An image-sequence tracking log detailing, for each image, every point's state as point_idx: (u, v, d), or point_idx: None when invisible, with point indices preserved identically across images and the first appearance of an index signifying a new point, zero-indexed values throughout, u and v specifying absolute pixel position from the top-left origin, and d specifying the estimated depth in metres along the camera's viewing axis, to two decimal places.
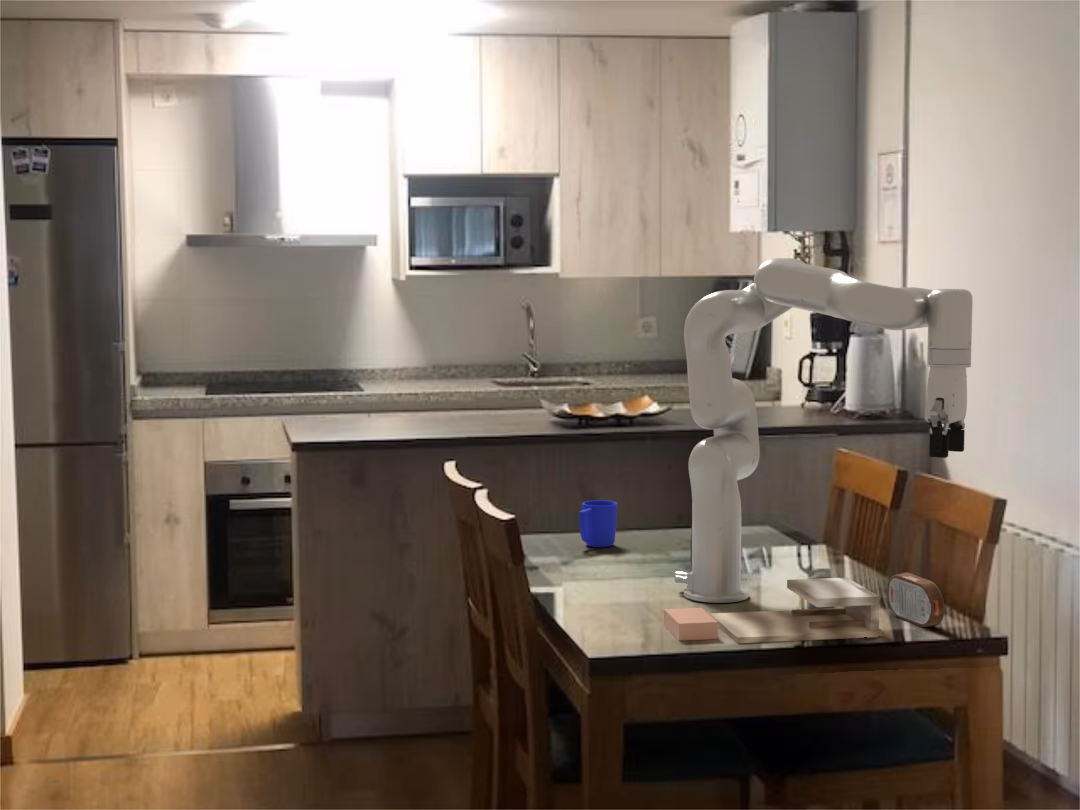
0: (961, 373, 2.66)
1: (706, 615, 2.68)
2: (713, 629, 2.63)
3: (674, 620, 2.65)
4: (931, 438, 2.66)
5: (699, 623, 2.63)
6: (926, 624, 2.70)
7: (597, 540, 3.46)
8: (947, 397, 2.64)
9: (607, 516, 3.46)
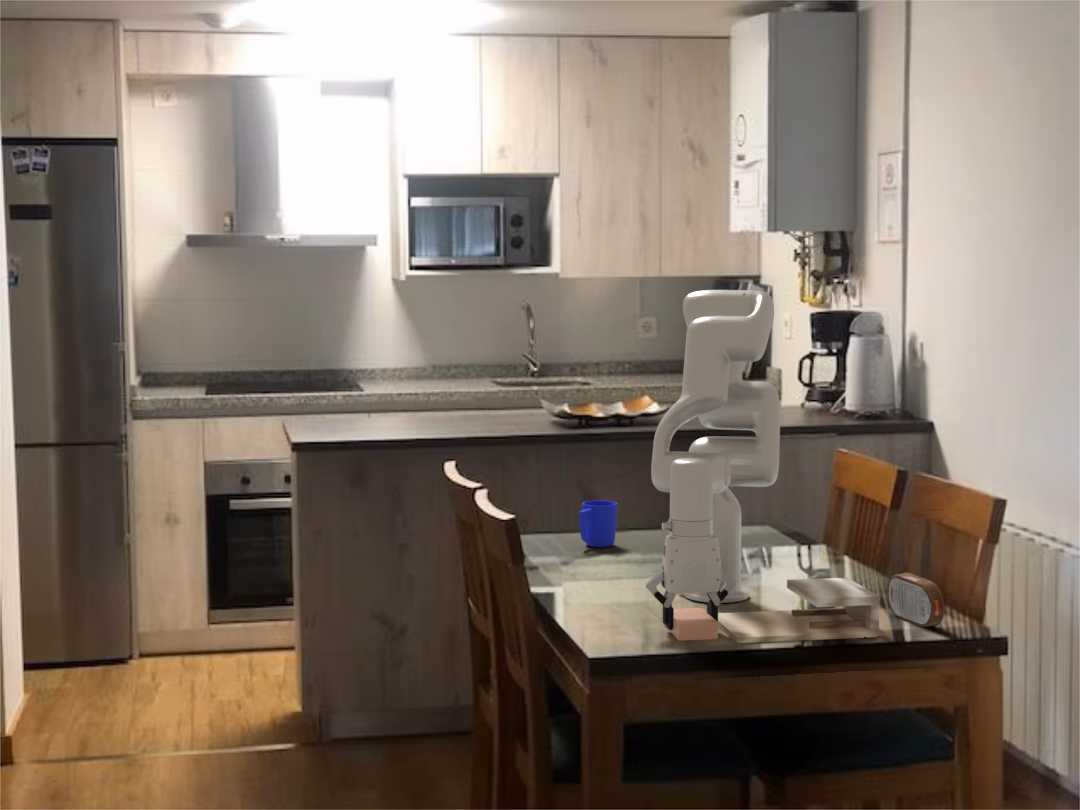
0: None
1: (706, 615, 2.68)
2: (713, 629, 2.63)
3: (674, 620, 2.65)
4: None
5: (699, 623, 2.63)
6: (926, 624, 2.70)
7: (597, 540, 3.46)
8: None
9: (607, 516, 3.46)
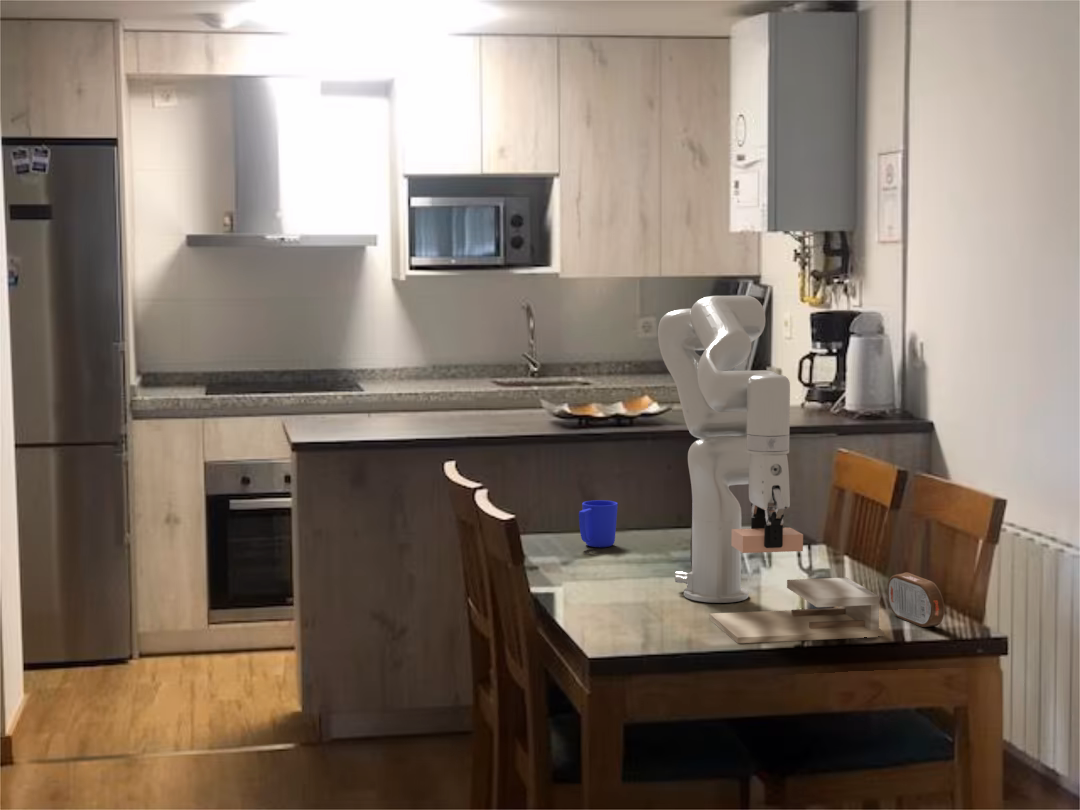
0: (752, 458, 2.68)
1: None
2: None
3: (785, 536, 2.66)
4: None
5: (795, 531, 2.70)
6: (926, 624, 2.70)
7: (597, 540, 3.46)
8: None
9: (607, 516, 3.46)
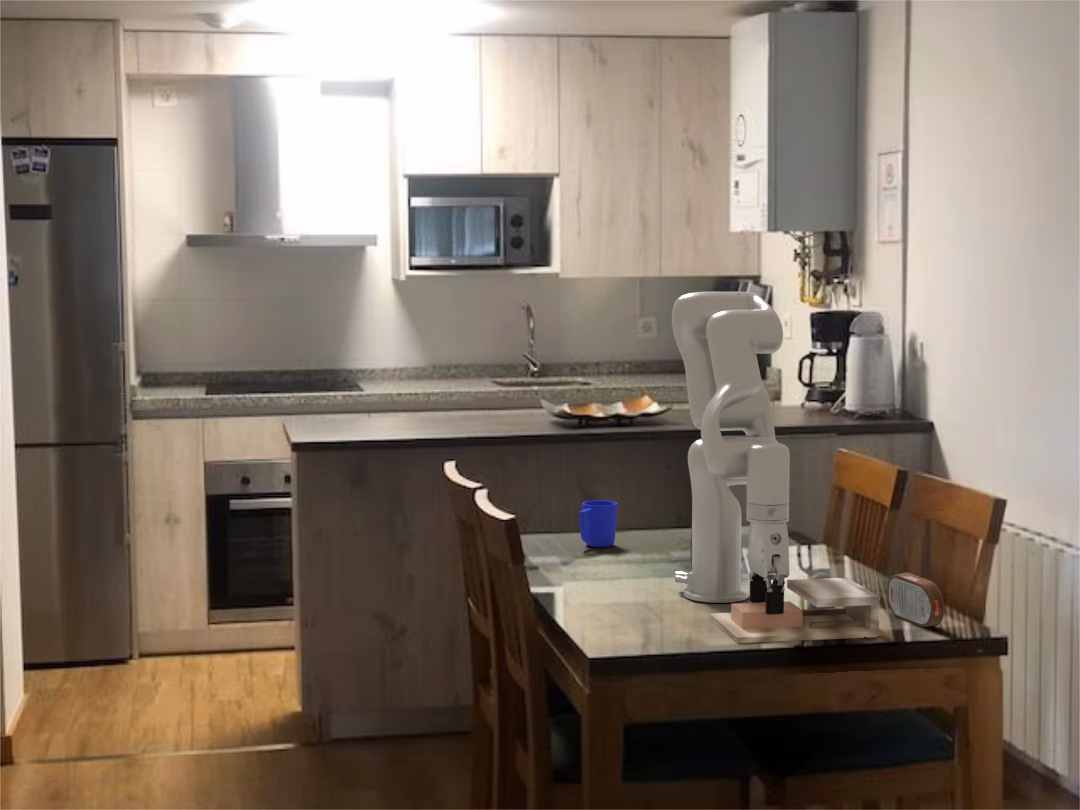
0: (752, 526, 2.69)
1: (764, 603, 2.73)
2: None
3: (784, 611, 2.67)
4: None
5: None
6: (926, 624, 2.70)
7: (597, 540, 3.46)
8: None
9: (607, 516, 3.46)
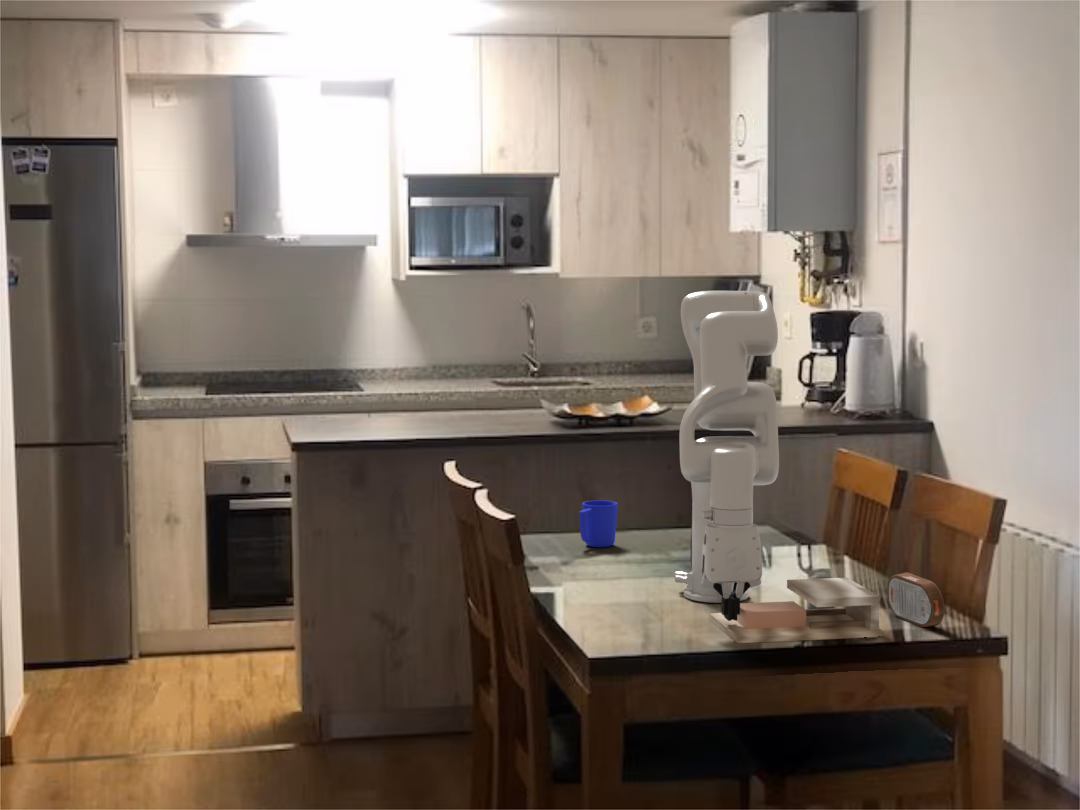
0: None
1: (768, 603, 2.73)
2: None
3: (788, 611, 2.67)
4: None
5: None
6: (926, 624, 2.70)
7: (597, 540, 3.46)
8: None
9: (607, 516, 3.46)
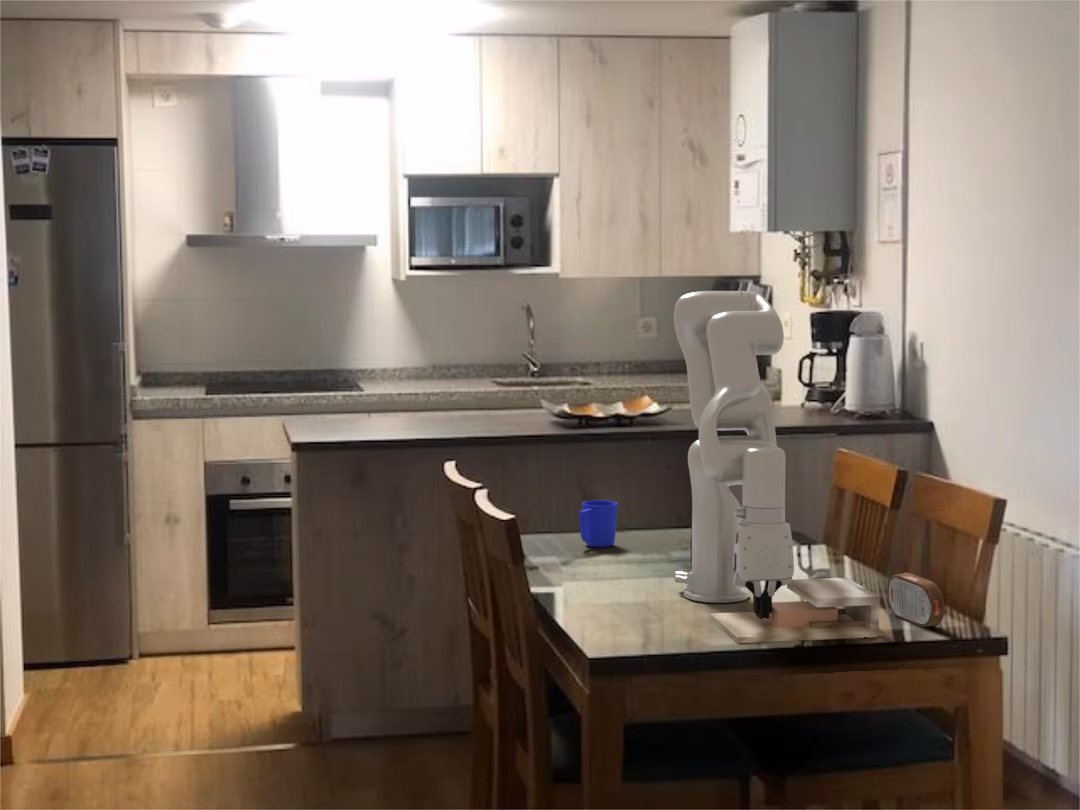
0: None
1: (799, 602, 2.74)
2: None
3: (820, 611, 2.68)
4: (768, 600, 2.68)
5: None
6: (926, 624, 2.70)
7: (597, 540, 3.46)
8: None
9: (607, 516, 3.46)
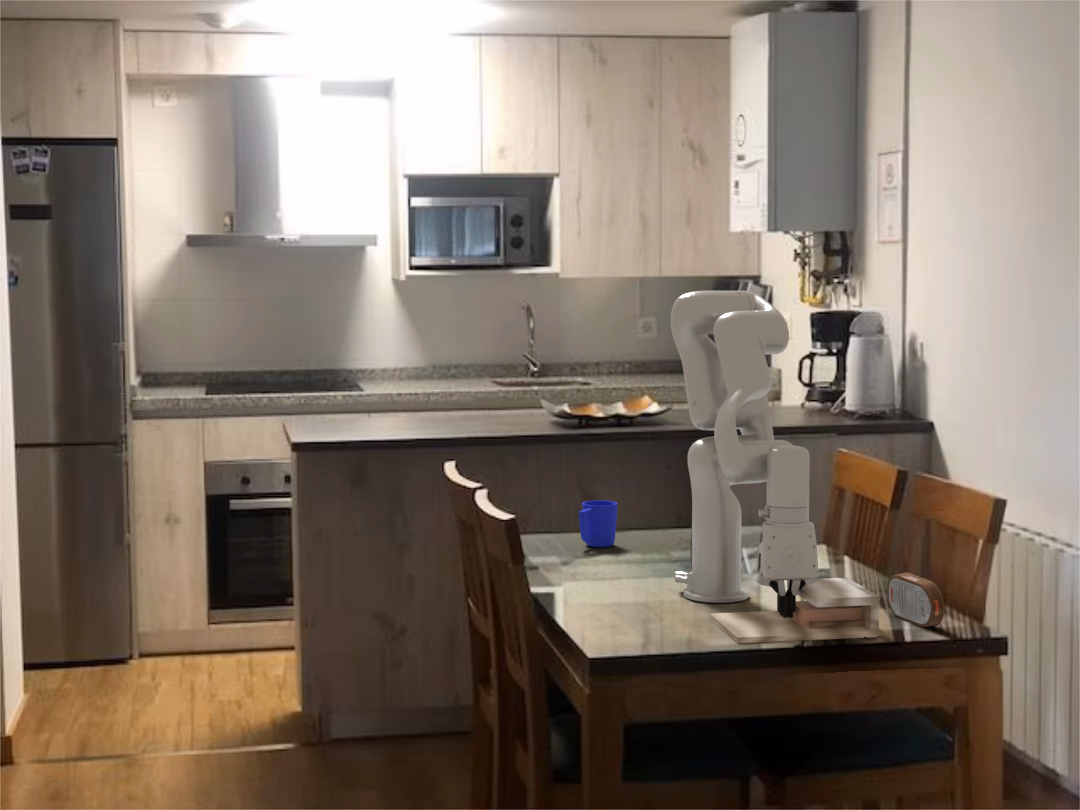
0: None
1: None
2: None
3: (844, 609, 2.69)
4: (792, 599, 2.69)
5: None
6: (926, 624, 2.70)
7: (597, 540, 3.46)
8: None
9: (607, 516, 3.46)
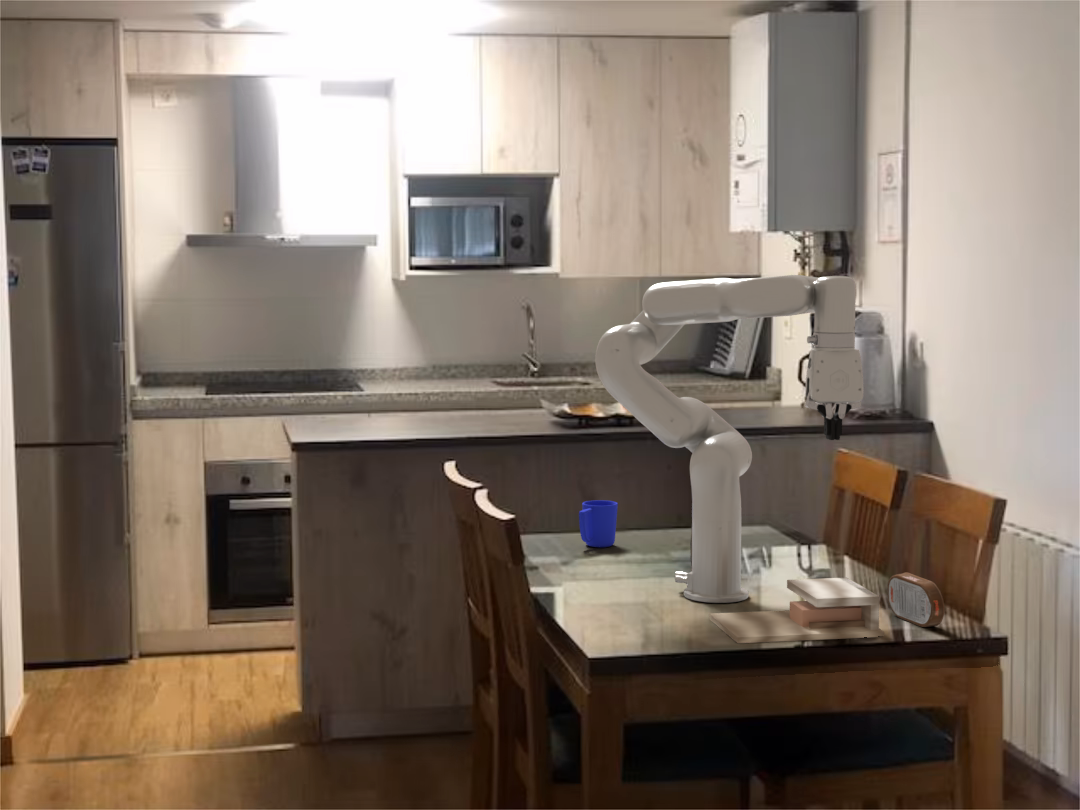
0: None
1: None
2: None
3: (844, 609, 2.69)
4: None
5: None
6: (926, 624, 2.70)
7: (597, 540, 3.46)
8: None
9: (607, 516, 3.46)
